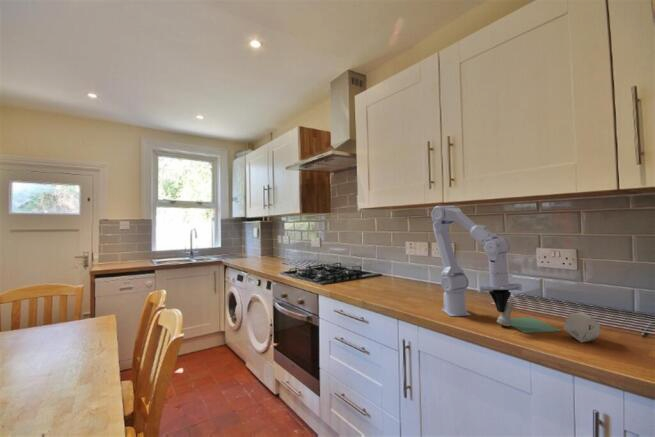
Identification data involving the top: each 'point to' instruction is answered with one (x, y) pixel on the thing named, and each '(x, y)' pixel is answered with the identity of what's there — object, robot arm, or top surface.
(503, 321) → the rook chess piece
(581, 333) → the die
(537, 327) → the felt mat
